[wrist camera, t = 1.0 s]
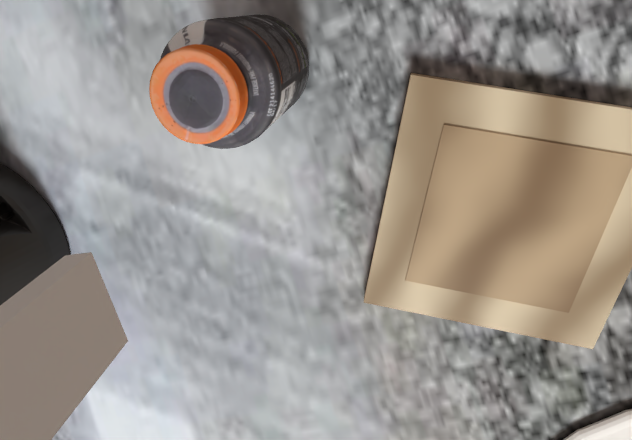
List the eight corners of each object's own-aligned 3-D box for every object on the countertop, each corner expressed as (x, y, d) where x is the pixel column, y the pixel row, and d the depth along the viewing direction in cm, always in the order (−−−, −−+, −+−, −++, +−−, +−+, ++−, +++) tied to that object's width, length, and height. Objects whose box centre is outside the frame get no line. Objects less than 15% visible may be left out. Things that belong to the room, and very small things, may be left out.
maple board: (364, 294, 35) (363, 303, 34) (410, 72, 29) (410, 74, 28) (587, 340, 34) (593, 350, 33) (691, 116, 27) (702, 120, 26)
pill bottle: (208, 22, 29) (106, 30, 19) (302, 7, 28) (246, 8, 18) (228, 118, 32) (146, 172, 22) (316, 109, 31) (273, 160, 20)
